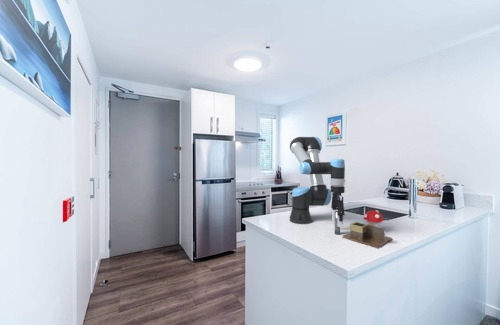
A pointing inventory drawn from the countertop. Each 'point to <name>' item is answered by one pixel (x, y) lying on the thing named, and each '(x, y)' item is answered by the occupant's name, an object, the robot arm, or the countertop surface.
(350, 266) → the countertop surface
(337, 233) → the pin
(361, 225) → the square socket plate
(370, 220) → the mushroom
